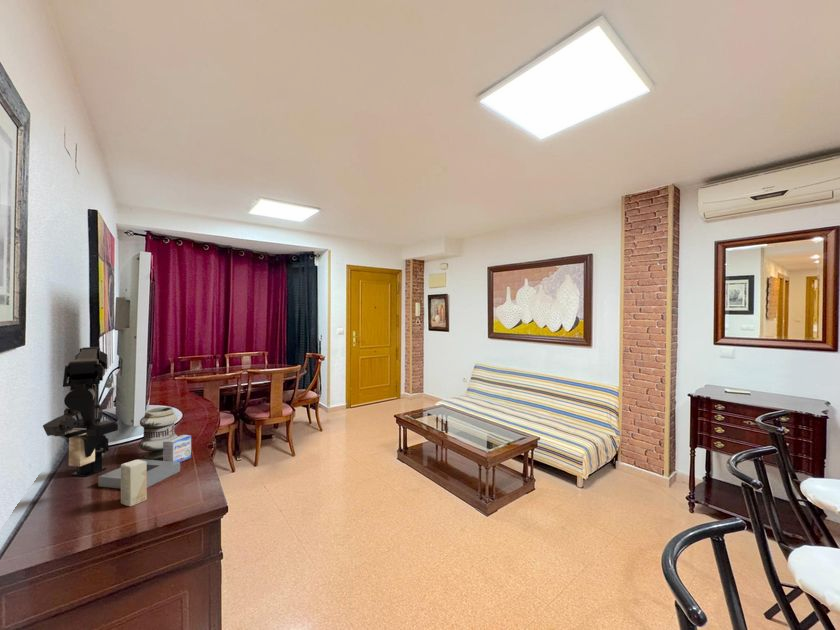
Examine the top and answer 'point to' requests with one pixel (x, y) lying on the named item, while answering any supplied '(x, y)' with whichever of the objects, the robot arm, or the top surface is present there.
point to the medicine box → (177, 449)
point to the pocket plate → (154, 473)
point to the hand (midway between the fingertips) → (82, 456)
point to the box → (133, 482)
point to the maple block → (78, 452)
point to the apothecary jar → (157, 431)
